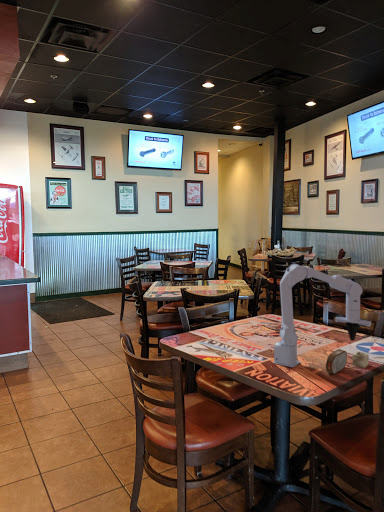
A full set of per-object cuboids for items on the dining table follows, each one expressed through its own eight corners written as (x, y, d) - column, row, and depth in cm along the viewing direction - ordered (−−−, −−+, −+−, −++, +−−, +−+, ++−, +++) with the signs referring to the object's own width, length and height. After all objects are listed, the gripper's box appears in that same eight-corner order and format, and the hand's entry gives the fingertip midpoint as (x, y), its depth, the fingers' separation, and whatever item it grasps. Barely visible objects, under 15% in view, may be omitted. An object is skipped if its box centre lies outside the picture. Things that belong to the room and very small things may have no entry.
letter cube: (352, 365, 168) (352, 353, 168) (356, 362, 172) (356, 350, 172) (364, 368, 165) (364, 356, 165) (368, 364, 169) (368, 353, 168)
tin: (341, 365, 169) (341, 346, 168) (348, 367, 166) (348, 348, 166) (324, 375, 158) (324, 355, 158) (332, 377, 156) (332, 356, 155)
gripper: (373, 309, 167) (372, 340, 168) (339, 305, 177) (339, 335, 178) (368, 312, 162) (367, 344, 163) (333, 308, 171) (333, 338, 172)
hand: (352, 340), depth 170 cm, fingers closed
